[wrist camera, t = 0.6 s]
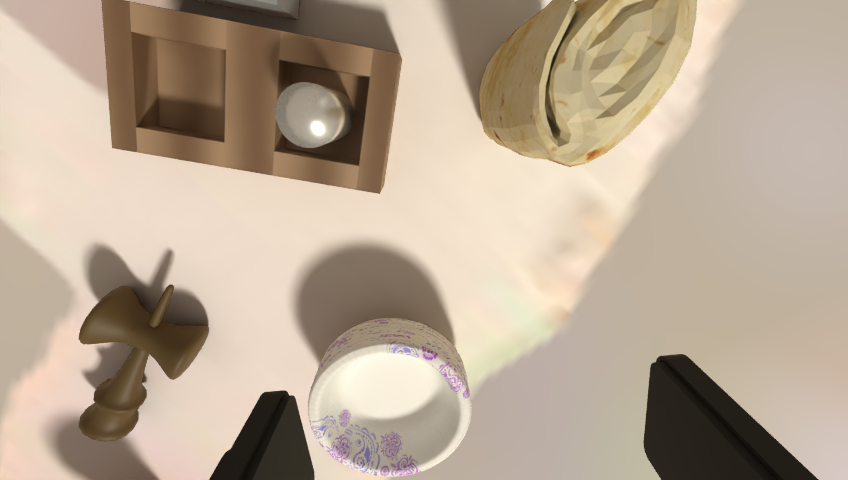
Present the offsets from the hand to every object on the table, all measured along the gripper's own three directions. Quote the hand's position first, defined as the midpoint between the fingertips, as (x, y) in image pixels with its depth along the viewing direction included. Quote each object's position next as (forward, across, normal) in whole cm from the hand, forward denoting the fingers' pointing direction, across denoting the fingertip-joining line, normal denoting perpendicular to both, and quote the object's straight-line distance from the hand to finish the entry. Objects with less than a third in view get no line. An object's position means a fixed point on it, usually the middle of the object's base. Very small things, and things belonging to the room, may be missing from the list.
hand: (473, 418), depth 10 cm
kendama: (+29, +32, +13) cm, 45 cm away
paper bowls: (+29, +6, +19) cm, 35 cm away
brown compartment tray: (+29, +14, -10) cm, 33 cm away
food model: (+29, -8, -9) cm, 31 cm away
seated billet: (+28, +9, -8) cm, 30 cm away
